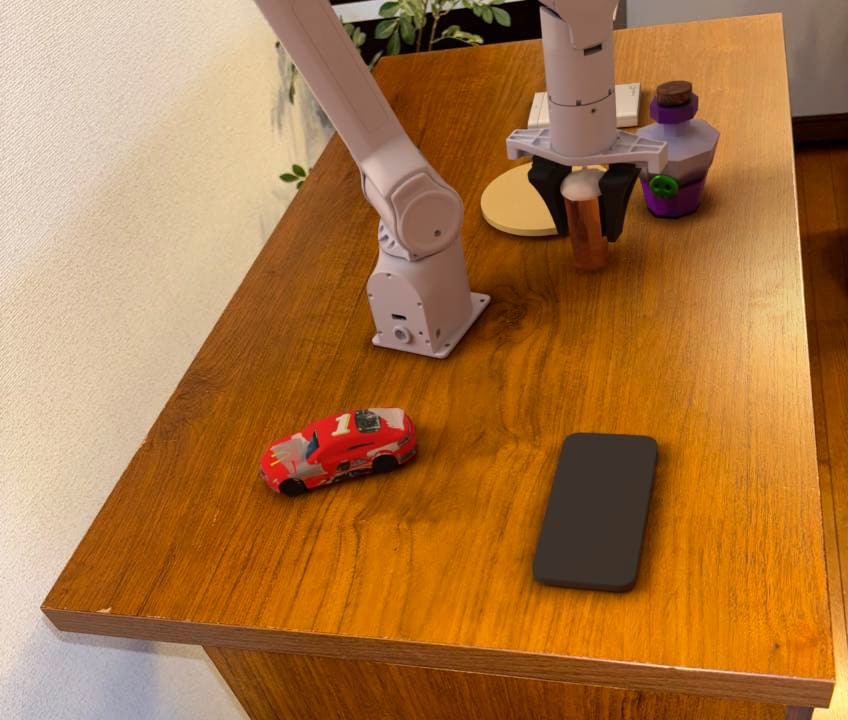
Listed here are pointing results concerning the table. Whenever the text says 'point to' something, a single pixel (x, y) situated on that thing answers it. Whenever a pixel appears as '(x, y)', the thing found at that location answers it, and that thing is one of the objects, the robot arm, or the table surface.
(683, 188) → the potion bottle
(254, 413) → the table surface
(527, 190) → the plate
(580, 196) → the milkshake
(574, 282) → the table surface
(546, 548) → the phone
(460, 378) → the table surface
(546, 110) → the hard drive
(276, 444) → the race car
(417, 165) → the robot arm
